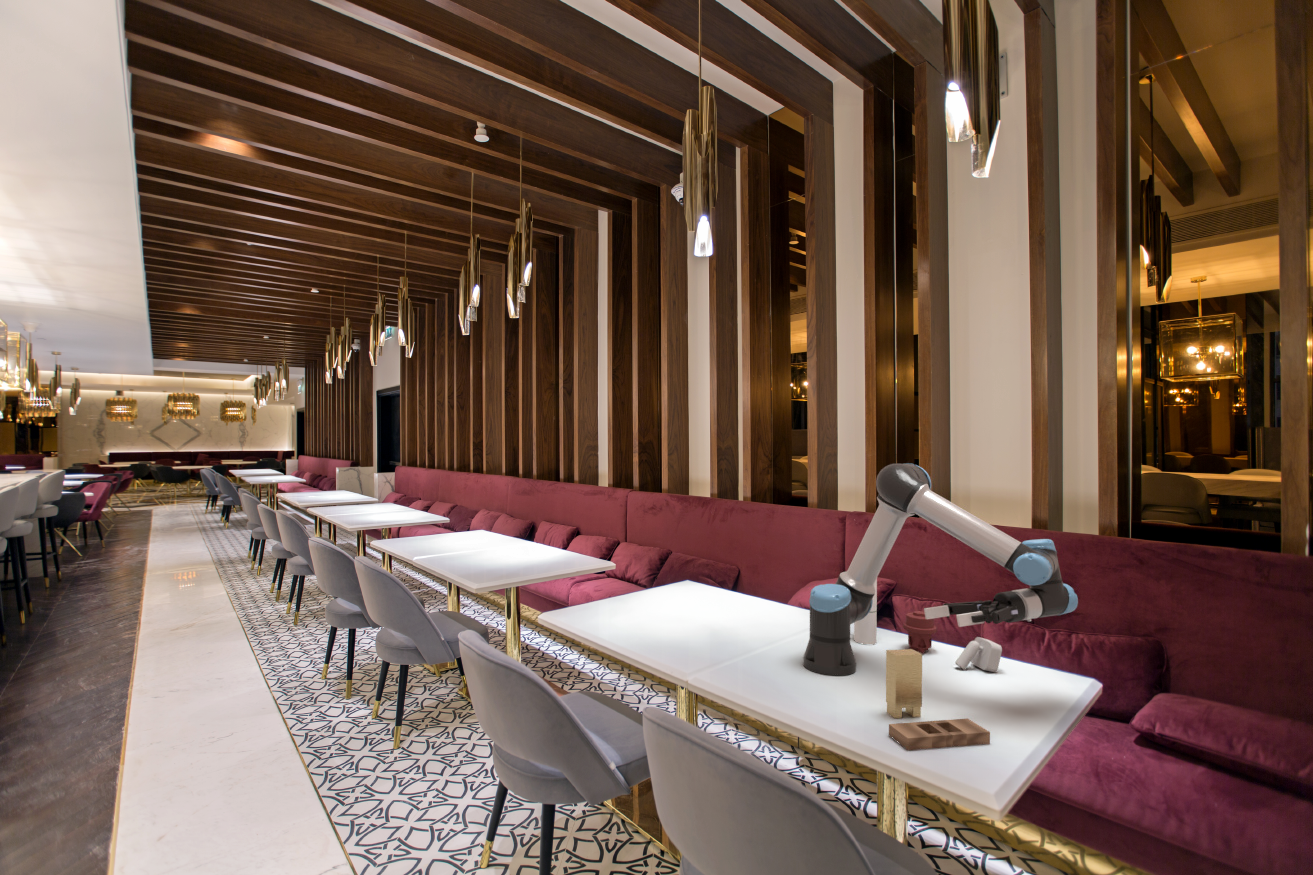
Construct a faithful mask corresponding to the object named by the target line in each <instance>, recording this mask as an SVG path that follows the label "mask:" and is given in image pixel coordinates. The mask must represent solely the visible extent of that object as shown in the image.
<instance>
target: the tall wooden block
mask: <svg viewBox="0 0 1313 875" xmlns="http://www.w3.org/2000/svg"><path fill="white" fill-rule="evenodd" d="M885 653H886V654H885V655H886V656H885V666H886V667H885V668H886V669H885V702H886V714H888V715H889V716H890V715H891V716H890V717H892V718H893V719H902V718H903V709H905V713H907V714H908V715H909V716H911V717H913V718H919V717H922V716H921V713H922V709H921V708H922V707H923V706H922V705H923V654H922V653H919V652H918V651H915V650H913V649H910V648H908V649H907V648H906V649H904V648H903V649H886V651H885Z"/></svg>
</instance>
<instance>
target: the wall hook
mask: <svg viewBox="0 0 1313 875" xmlns="http://www.w3.org/2000/svg"><path fill="white" fill-rule="evenodd" d="M1002 652H1003V648H1002V645H1001V644H998V643H996V642H994V641H993V640H991V639H987V638H983V637H980V636H976V637H975V638H974V640H971V641H969V642H968V644H967V645H966V647H965V648H964V649H963V651H962V652H961V653H960V655H959V656H958V657H957V659H956V661H955V662H954V663H955V665H957V666H958V667H959V668H960V669H962V670H964V671H965V670H966V668H967V667H968V666H969V664H970V663H971V664H972V665H974V666H976V667H978V668H980V669H981V670H983V671H987V672H991V673H997V671H998V670H999V666H1000V661H1001V657H1002Z"/></svg>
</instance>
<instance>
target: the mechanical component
mask: <svg viewBox="0 0 1313 875" xmlns="http://www.w3.org/2000/svg"><path fill="white" fill-rule="evenodd" d="M905 617H906V618H905V622H903V624H902V625H903V629H904V630H905V631H907V634H908V635H907V637H908V638H907V639H908V640H907V644H908V646H909V648H908V649H913V650H915V651H917V652H919V653H921V654H922V655H923V654H924V653H925V652H926V651H929V649H931V648H932V646H933V645H932V638H933V637H932V635H934V634H936V633H937V630H938V629H937V628H938V627H937V626H936V625H935V618H933V619H926V618H925V612H924V611H922V610H920V611H919V610H914V611H913V612H907V613H906V614H905Z"/></svg>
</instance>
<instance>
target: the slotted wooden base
mask: <svg viewBox="0 0 1313 875" xmlns="http://www.w3.org/2000/svg"><path fill="white" fill-rule="evenodd" d="M889 735H890V736H891V737H893V738H894V739H895V740H896V741H895V740H894V739H893V738H892V739H893V740H894V741H895V742H897V741H898V742H899V743H900V744H901V745H900V744H899V743H898V742H897V743H898V744H899V745H900V746H901V747H903V748H904V747H905V748H906V749H905V748H904V749H905V750H907V751H914V750H915V751H916V750H918V751H919V750H927V749H939V748H940V749H941V748H951V747H953V748H954V746H955V747H965V746H979V745H980V746H981V745H990V744H991V732H990V730H987V729H986V728H984V727H982V726H981V725H979V723H976V722H975V721H973V720H971V719H970V718H953V719H942V720H927V721H915V722H914V721H913V722H912V721H911V722H900V723H888V736H889ZM890 736H889V737H890ZM891 737H890V738H891Z"/></svg>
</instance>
